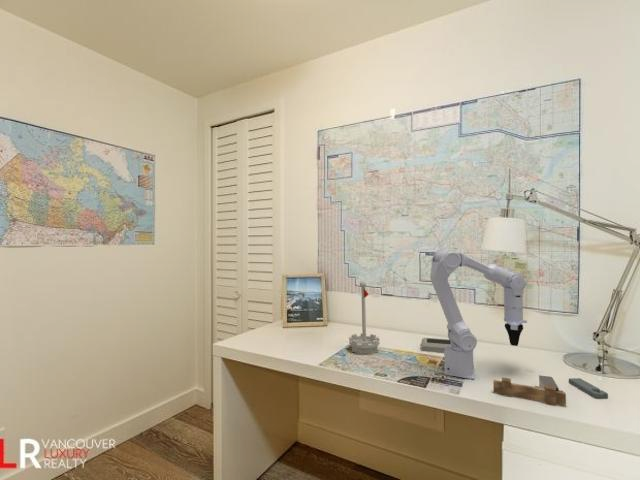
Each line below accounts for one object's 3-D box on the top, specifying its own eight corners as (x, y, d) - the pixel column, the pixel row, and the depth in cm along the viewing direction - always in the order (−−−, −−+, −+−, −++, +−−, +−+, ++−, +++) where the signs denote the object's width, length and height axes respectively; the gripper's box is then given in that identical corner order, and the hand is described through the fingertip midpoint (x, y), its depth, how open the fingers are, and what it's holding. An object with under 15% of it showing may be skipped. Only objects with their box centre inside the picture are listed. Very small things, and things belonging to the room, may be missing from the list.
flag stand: (344, 347, 144) (343, 280, 144) (371, 343, 148) (369, 278, 148) (357, 357, 132) (355, 284, 132) (385, 352, 136) (383, 281, 136)
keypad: (459, 346, 132) (421, 343, 137) (459, 355, 132) (421, 351, 137) (457, 339, 141) (421, 336, 146) (457, 347, 141) (421, 344, 146)
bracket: (580, 383, 105) (580, 377, 105) (608, 400, 95) (608, 393, 95) (568, 384, 105) (568, 378, 105) (595, 400, 95) (595, 393, 95)
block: (544, 400, 95) (544, 386, 95) (539, 388, 102) (538, 375, 102) (558, 402, 93) (558, 388, 93) (552, 390, 101) (551, 376, 101)
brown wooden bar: (493, 393, 99) (493, 378, 99) (494, 386, 104) (493, 372, 104) (566, 407, 90) (566, 391, 90) (563, 399, 95) (563, 384, 95)
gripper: (528, 312, 106) (528, 353, 106) (525, 303, 119) (526, 340, 119) (503, 310, 110) (504, 350, 110) (503, 302, 122) (504, 338, 122)
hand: (514, 345), depth 115 cm, fingers closed
